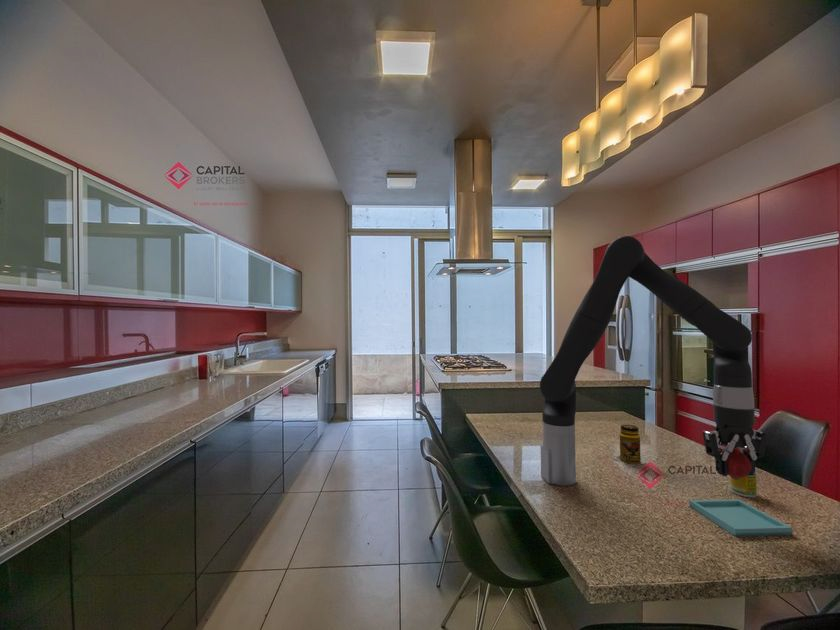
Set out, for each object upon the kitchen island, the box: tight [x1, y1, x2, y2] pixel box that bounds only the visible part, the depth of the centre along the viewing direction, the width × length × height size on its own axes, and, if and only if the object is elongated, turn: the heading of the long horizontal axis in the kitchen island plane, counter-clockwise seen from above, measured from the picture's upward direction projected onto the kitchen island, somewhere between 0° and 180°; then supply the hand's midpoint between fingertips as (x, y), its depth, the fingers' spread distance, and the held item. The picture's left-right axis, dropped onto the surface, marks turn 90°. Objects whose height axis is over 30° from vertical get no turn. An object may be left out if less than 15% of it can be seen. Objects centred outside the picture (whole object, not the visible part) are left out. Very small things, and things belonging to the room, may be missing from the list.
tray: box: [688, 498, 793, 537], centre depth 86 cm, size 13×13×2 cm
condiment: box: [610, 424, 648, 467], centre depth 124 cm, size 7×8×12 cm
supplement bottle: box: [729, 469, 758, 498], centre depth 100 cm, size 5×5×10 cm
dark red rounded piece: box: [726, 447, 752, 480], centre depth 86 cm, size 6×6×8 cm
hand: (735, 474), depth 86 cm, fingers closed on dark red rounded piece, 6 cm apart
